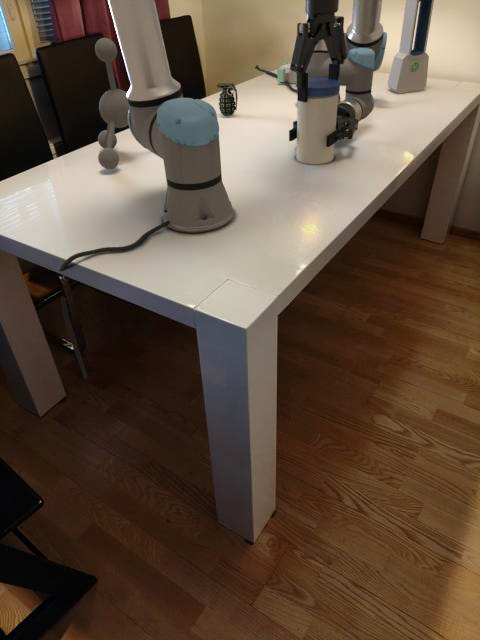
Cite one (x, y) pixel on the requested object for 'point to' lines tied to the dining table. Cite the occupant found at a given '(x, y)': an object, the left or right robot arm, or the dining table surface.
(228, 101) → the grenade
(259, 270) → the dining table surface
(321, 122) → the jar
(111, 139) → the molecular model
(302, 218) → the dining table surface
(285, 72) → the decorative block
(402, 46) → the electronic device
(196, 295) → the dining table surface
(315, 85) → the lid
